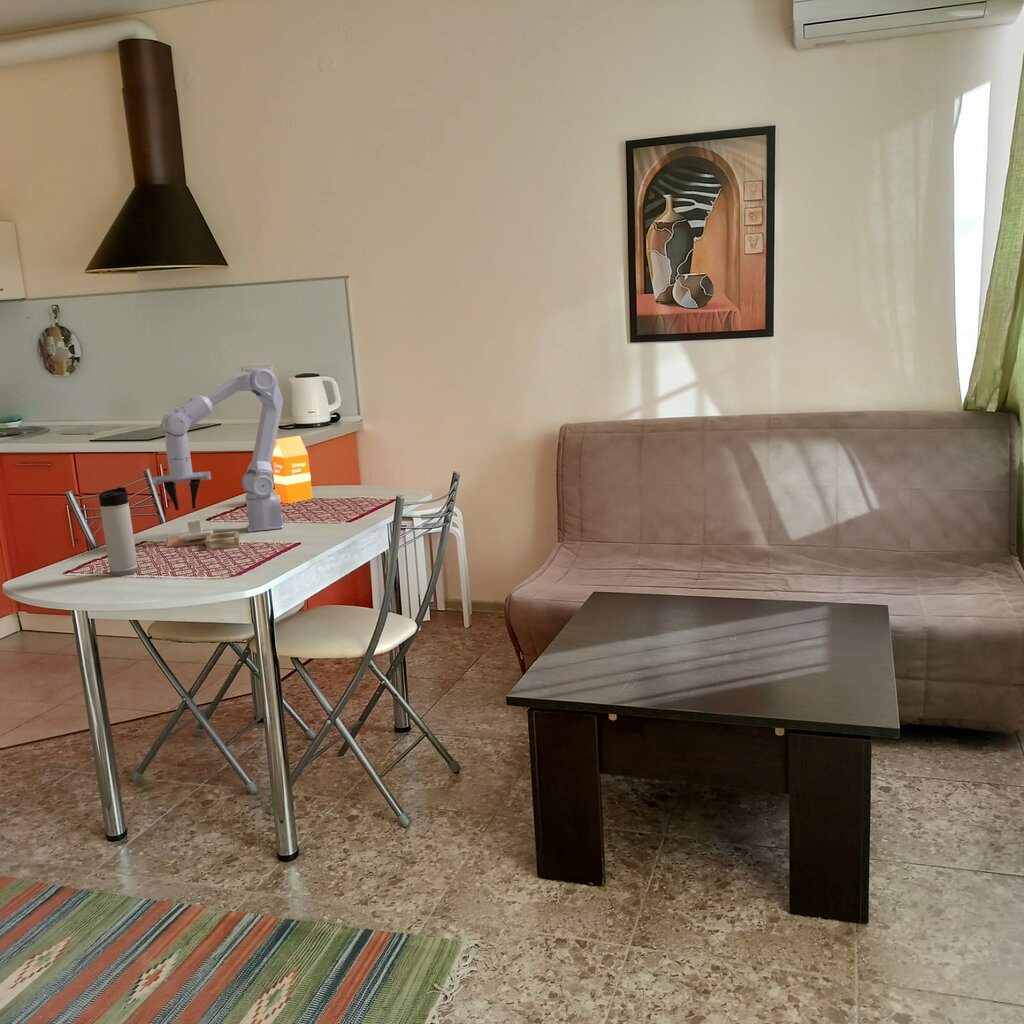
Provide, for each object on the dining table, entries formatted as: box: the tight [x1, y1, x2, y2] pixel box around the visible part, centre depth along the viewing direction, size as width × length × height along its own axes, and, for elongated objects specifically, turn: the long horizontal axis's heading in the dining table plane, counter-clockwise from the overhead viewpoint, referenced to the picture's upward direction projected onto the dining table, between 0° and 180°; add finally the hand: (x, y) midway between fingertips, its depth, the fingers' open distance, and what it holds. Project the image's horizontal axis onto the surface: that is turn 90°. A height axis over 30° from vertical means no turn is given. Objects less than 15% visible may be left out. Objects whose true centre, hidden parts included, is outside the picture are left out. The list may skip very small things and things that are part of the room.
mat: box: [165, 533, 213, 548], centre depth 261 cm, size 11×11×1 cm
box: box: [205, 530, 240, 551], centre depth 254 cm, size 8×8×2 cm
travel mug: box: [98, 486, 139, 577], centre depth 230 cm, size 6×7×20 cm
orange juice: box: [271, 435, 313, 504], centre depth 308 cm, size 8×9×20 cm
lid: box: [178, 519, 214, 541], centre depth 259 cm, size 8×8×5 cm
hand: (185, 508), depth 259 cm, fingers open, 4 cm apart
